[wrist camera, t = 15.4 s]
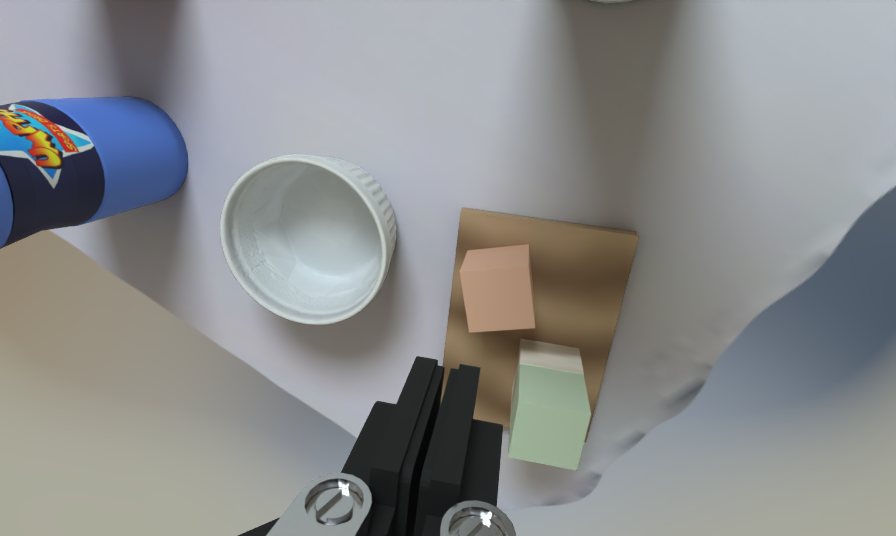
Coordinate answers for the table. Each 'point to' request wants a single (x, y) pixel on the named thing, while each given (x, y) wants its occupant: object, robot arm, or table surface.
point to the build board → (542, 305)
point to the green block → (549, 417)
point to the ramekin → (308, 237)
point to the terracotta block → (498, 289)
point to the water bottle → (83, 161)
